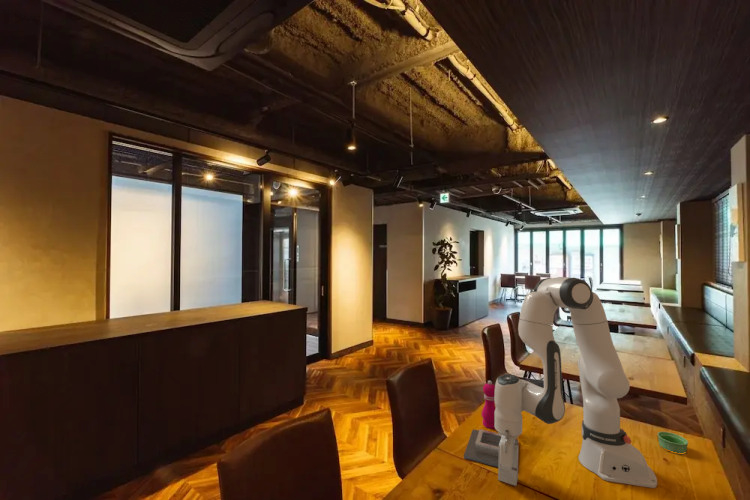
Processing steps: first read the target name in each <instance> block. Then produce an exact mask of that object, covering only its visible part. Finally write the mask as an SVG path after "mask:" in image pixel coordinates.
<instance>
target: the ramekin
mask: <svg viewBox="0 0 750 500" xmlns="http://www.w3.org/2000/svg"><path fill="white" fill-rule="evenodd" d="M657 437H658V445H659V444H660V445H659V447H661V446H662V447H663V448H665V449H667V450H670V451H673V452H677V453H684V452H686V451H687V450H688V444H689V440H688V439H686V438H684V437H683V436H681V435H679V434H676V433H673V432H669V431H659V432H657ZM662 447H661V448H662ZM663 448H662V449H663ZM686 453H687V452H686Z"/></svg>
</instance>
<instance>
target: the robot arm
mask: <svg viewBox="0 0 750 500" xmlns="http://www.w3.org/2000/svg"><path fill="white" fill-rule="evenodd" d="M559 308H561V309H562V308H567V309H568V311H569V313H570V319H571V324H572V328H573V332H574V336H575V341H576V345H577V346H578V349H579V352H580V355H579V356H578V358H577V367H578V374H579V382H580V388H581V389H580V390H581V395H582V401H583V402H582V403H583V405H582V406H583V411H582V412H583V413H582V414H583V420H582V422H581V436H582V442H581V448H580V452H579V454H578V461H579V462H580V464H581V465H582V467H585V468H586V469H587V470H589V471H591V472H592V473H594V474H596V475H598V477H599V478H601V479H602V480H604V481H606V482H612V483H619V484H625V485H632V486H637V487H645V488H650V489H656V487H657V486H658V478H657V476H656V474H655V472H654V471H653V469H652V468H651V467H650V466H649V465H648V463H647V461H646V459H645V456H644V455H643V454H642V452H641V451H640V450H639V449H637V448H636V447H635V446H633V445H632V440H631V437H630V436H628V434H627V432H626V431H625V430H624V428H621V407H620V405H619V401H618V399H621V398H623V397H625V396H626V395H627V394H628V393H629V390H630V387H631V386H630V381H629V378H628V377H627V375H626V373H625V370H624V368H623V365H622V363H621V359H620V357H619V354H618V352H617V350H616V347H615V345H614V342H613V339H612V336H611V335H612V334H611V332H610V331H611V330H610V327H609V323H608V322H609V321H608V317H607V314H606V311H605V308H604V306H603V304H602V300H601V299H600V297H599V295H598V294H597V293H596V292H594V291H593V290H592V288H591V286H590V285H589V284H588V282H587V281H585V280H583V279H581V278H578V277H566V276H557V277H546V278H543V279H541V280H539V281H538V282H537V283H536V285H535V286H534V290H533V291H532V292H529V293H527V294H526V295H525V297H524V299H523V303H522V305H521V308H520V313H519V319H518V327H517V330H518V336H519V338H520V339H521V341H522V342H523V343H524V345H526V346H527V347H528V348H529V349H531V350H532V351H533V352H534V353H535V354H536V355H538V357H539V359H540V360H541V361H542V366H543V370H542V372H543V387H541V386H538V385H536V384H534V383H533V382H531V381H528V380H525V379H520V377H518V376H517V375H514V374H510V373H505V374H500V375H499V376H498V377H497V378H496V381H495V384H494V385H495V394H494V401H495V407H496V409H495V429H494V430H496V431H497V432H498V434H500V435H501V442H500V464H501V466H504V467H505V470H506V471H510V470H511V468H512V465H513V455H514V443H515V439H518V437H519V436H520V435H522V433H523V416H522V412H526V413H528V414H530V415H532V416H534V417H536V418H537V419H538V420H540V421H542V422H543V423H545V424H547V425H552V424H555V423H557V422H560V421H561V420H562V419H563V418H564V416H565V413H566V404H565V400H564V395H563V394H564V393H563V378H562V377H563V374H562V372H563V371H562V357H561V349H560V346H559V344H558V343H557V342H556V340H555V337H554V330H553V329H554V317H555V313H556V311H557V310H558V309H559Z"/></svg>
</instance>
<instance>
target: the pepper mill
mask: <svg viewBox="0 0 750 500" xmlns="http://www.w3.org/2000/svg"><path fill="white" fill-rule="evenodd" d="M482 391H483V393H484V394H483V395H484V396H483V398H484V406H483V408H482V410H481V418H482V425H483V426H484V427H485V428H487V429H491V430H496V429H495V409H496V405H495V401H494V394H495V384H493V382H492V380H487V382H486V383H485V384H484V385H483V387H482Z"/></svg>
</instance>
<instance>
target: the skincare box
mask: <svg viewBox="0 0 750 500" xmlns="http://www.w3.org/2000/svg"><path fill="white" fill-rule="evenodd" d="M500 442H501V440H500ZM519 445H520V444H519V443H518V444H516V443H514V455H513V465H512V468H511V470H510V471H506V470H505V467H504V466H501V464H500V443H499V463H498V467H497V468H498V471H497V472H498V474H497V477H498V478H497V480H498V481H499V482H500V481H501V482H503V483H506V484H509V485H511V486H515V487H516V486H517V483H518V479H519Z"/></svg>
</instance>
